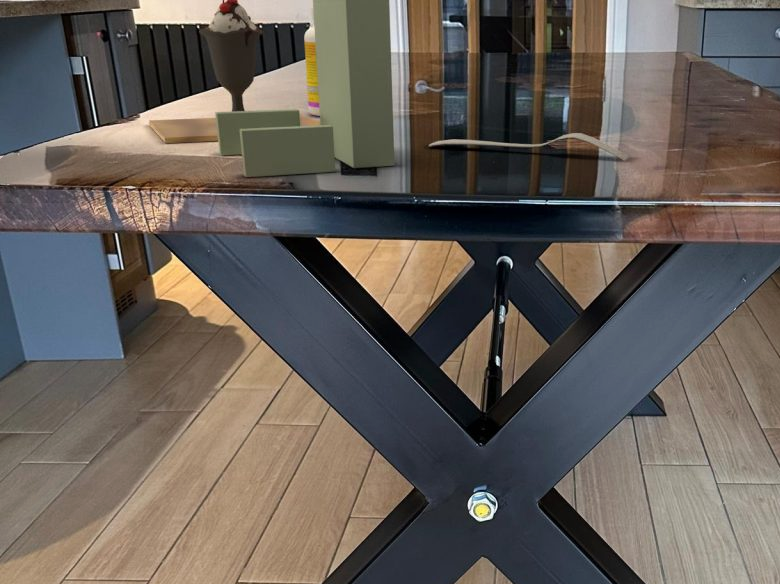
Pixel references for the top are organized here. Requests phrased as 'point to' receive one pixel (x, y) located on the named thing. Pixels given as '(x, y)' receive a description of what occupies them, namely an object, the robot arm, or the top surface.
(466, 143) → the fork
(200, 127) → the cork mat
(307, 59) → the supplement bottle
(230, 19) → the dark grey goblet
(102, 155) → the top surface
